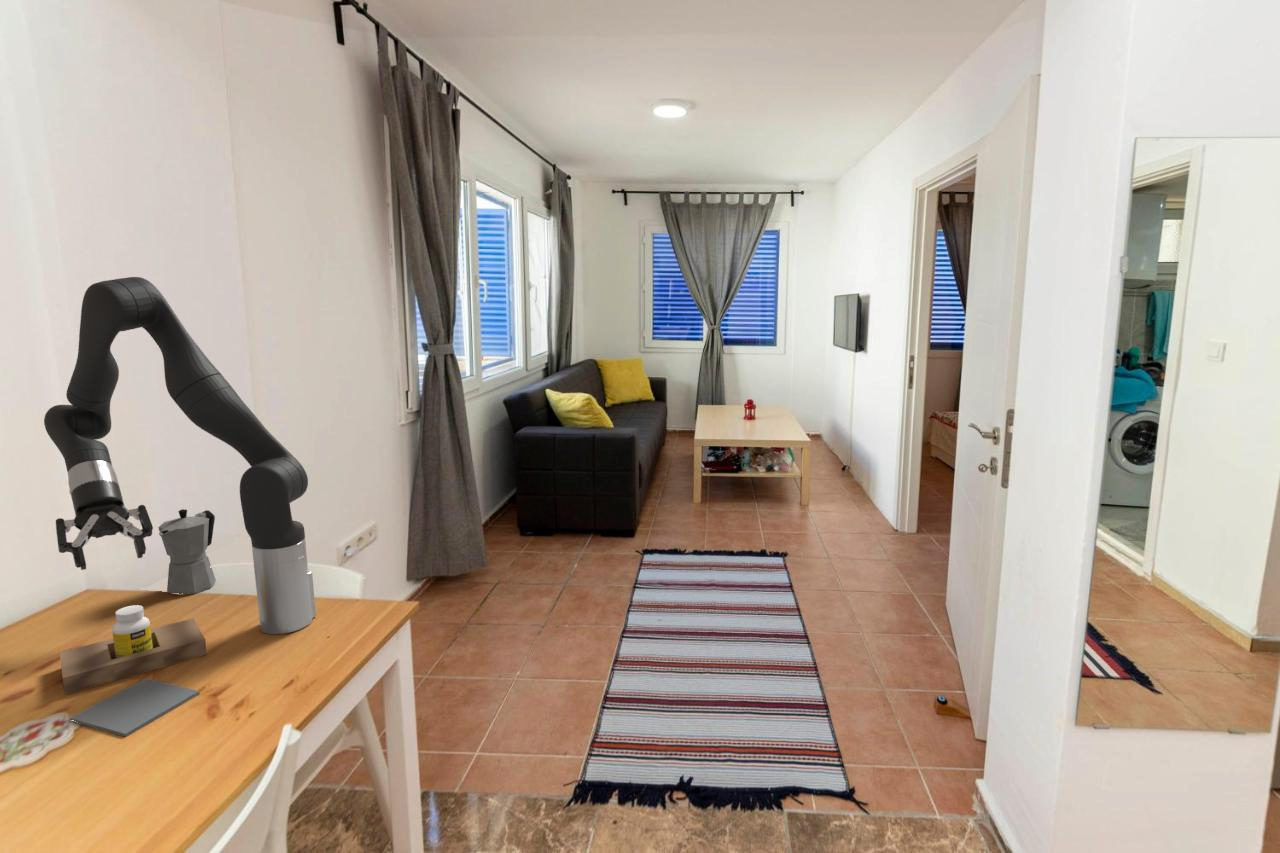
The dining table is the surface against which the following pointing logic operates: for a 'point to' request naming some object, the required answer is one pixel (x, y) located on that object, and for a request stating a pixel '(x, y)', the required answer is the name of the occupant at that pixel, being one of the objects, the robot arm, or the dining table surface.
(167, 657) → the bottle holder tray
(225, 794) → the dining table surface
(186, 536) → the coffeepot
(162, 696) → the slate pad
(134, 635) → the supplement bottle
